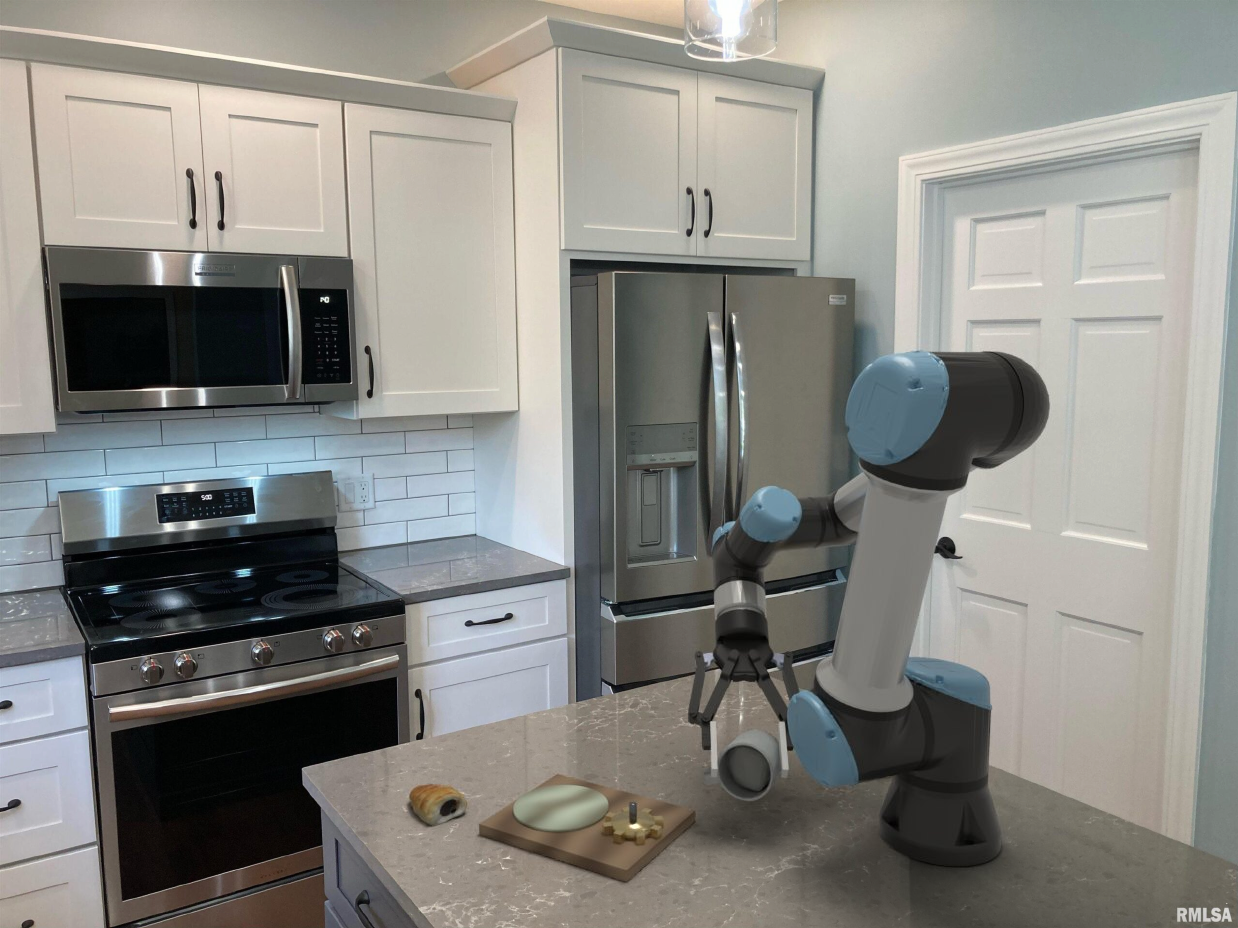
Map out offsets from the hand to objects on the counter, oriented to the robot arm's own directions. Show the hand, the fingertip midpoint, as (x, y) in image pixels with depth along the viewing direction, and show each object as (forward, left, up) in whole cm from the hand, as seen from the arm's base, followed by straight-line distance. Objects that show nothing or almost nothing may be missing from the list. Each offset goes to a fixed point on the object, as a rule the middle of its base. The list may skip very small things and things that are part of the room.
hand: (749, 773), depth 123 cm
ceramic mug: (+3, -3, -4) cm, 6 cm away
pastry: (+41, +14, -10) cm, 45 cm away
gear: (+13, +7, -8) cm, 17 cm away
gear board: (+20, +7, -9) cm, 23 cm away
